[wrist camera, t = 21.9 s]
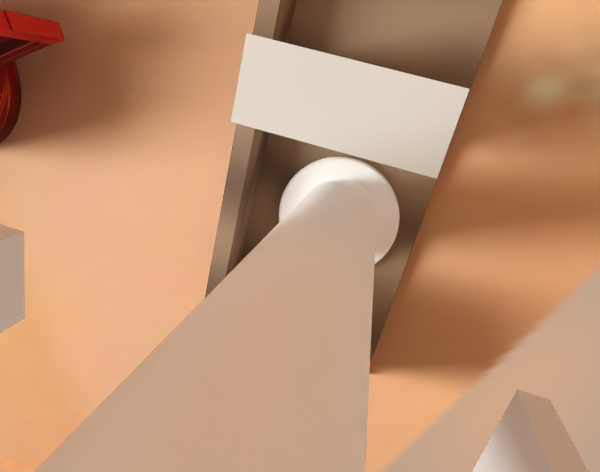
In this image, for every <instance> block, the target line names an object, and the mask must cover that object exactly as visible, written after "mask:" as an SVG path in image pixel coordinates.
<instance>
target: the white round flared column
mask: <svg viewBox="0 0 600 472" xmlns="http://www.w3.org/2000/svg"><path fill="white" fill-rule="evenodd" d="M398 228H399V207H398V202H397V198H396V195H395V193H394V191H393V189H392V187H391V185H390V184H389V182H388V181H387V179H386V178H385V177H384V176H383V175H382V174H381V173H380V172H379V171H378V170H376V169H375V168H374V167H372V166H371V165H369V164H367V163H365V162H363V161H360V160H358V159H354V158H350V157H341V156H338V157H327V158H323V159H320V160H317V161H315V162H312V163H310V164H309V165H307V166H305V167H304V168H303V169H301V170H300V171H299V172H298V173H297V174H295V176H294V177H293V178H292V179H291V180H290V182H289V183H288V185H287V186H286V188H285V190H284V192H283V195H282V197H281V201H280V206H279V223H278V224H277V225H276V226H275V227H274V228H273V229H272V230H271V232H270V233H269V234H268V235H267V236H266V237H265V238H264V239H263V240H262V241H261V242H260V243H259V244H258V245H257V246H256V247H255V248H254V249H253V250H252V251H251V252H250V253H249V254H248V255H247V256H246V257H245V258H244V259H243V260H242V261H241V262H240V263H239V264H238V265H237V266H236V267H235V268H234V269H233V270H232V271H231V272H230V273H229V274H228V275H227V276H226V277H225V278H224V279H223V280H222V281H221V282H220V283H219V284H218V285H217V286H216V287H215V288H214V289H213V291H212V292H211V293H210V294H209V295H208V296H207V297H206V298H205V299H204V300H203V301H202V302H201V303H200V304H199V305H198V306H197V307H196V308H195V309H194V310H193V311H192V312H191V313H190V314H189V315H188V316H187V317H186V318H185V319H184V320H183V321H182V322H181V323H180V324H179V325H178V326H177V327H176V328H175V329H174V330H173V331H172V332H171V333H170V334H169V335H168V336H167V337H166V338H165V339H164V340H163V341H162V342H161V343H160V344H159V345H158V346H157V347H156V348H155V350H154V351H153V352H152V353H151V354H150V355H149V356H148V357H147V358H146V359H145V360H144V361H143V362H142V363H141V364H140V365H139V366H138V367H137V368H136V369H135V370H134V371H133V372H132V373H131V374H130V375H129V376H128V377H127V378H126V379H125V380H124V381H123V382H122V383H121V384H120V385H119V386H118V387H117V388H116V389H115V390H114V391H113V392H112V393H111V394H110V395H109V396H108V397H107V398H106V399H105V400H104V401H103V402H102V403H101V404H100V405H99V406H98V408H97V409H96V410H95V411H94V412H93V413H92V414H91V415H90V416H89V417H88V418H87V419H86V420H85V421H84V422H83V423H82V424H81V425H80V426H79V427H78V428H77V429H76V430H75V431H74V432H73V433H72V434H71V435H70V436H69V437H68V438H67V439H66V440H65V441H64V442H63V443H62V444H61V445H60V446H59V447H58V448H57V449H56V450H55V451H54V452H53V453H52V454H51V455H50V456H49V457H48V458H47V459H46V460H45V461H44V462H43V463H42V464H41V466H40V467H39V468H38V469H37V470H36V471H35V472H365V457H366V436H367V414H368V393H369V371H370V350H371V328H372V307H373V285H374V264H376V263H377V262H378V261H380V260H381V259H382V258H383V257H384V256H385V254H386V253H387V252H388V251H389V249H390V248H391V246H392V244H393V243H394V240H395V238H396V235H397V232H398Z"/></svg>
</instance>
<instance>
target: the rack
mask: <svg viewBox="0 0 600 472" xmlns="http://www.w3.org/2000/svg"><path fill="white" fill-rule="evenodd" d="M502 1H503V0H259V3H258V9H257V14H256V20H255V25H254V31H253V35H256V36H260V37H264V38H268V39H272V40H276V41H280V42H284V43H288V44H292V45H296V46H300V47H304V48H308V49H312V50H316V51H320V52H324V53H328V54H332V55H336V56H340V57H344V58H348V59H352V60H356V61H360V62H364V63H368V64H372V65H376V66H380V67H384V68H388V69H392V70H396V71H400V72H404V73H408V74H412V75H416V76H420V77H424V78H428V79H432V80H436V81H440V82H444V83H448V84H452V85H456V86H460V87H464V88H468V89H470V88H471V85H472V83H473V80H474V77H475V74H476V72H477V69H478V66H479V64H480V61H481V58H482V55H483V53H484V50H485V47H486V44H487V42H488V39H489V36H490V33H491V31H492V28H493V25H494V23H495V20H496V17H497V14H498V12H499V9H500V6H501V3H502ZM469 91H470V90H469ZM468 94H469V92H468ZM467 96H468V95H467ZM466 99H467V98H466ZM465 102H466V101H465ZM464 104H465V103H464ZM463 107H464V106H463ZM462 110H463V109H462ZM461 113H462V111H461ZM460 115H461V114H460ZM459 118H460V117H459ZM458 121H459V120H458ZM457 124H458V122H457ZM456 126H457V125H456ZM455 129H456V128H455ZM454 132H455V131H454ZM453 135H454V133H453ZM452 137H453V136H452ZM451 140H452V139H451ZM450 143H451V142H450ZM449 145H450V144H449ZM448 148H449V147H448ZM447 151H448V150H447ZM446 154H447V152H446ZM338 156H341V157H350V158H354V159H358V160H360V161H363V162H365V163H367V164H369V165H371V166H372V167H374V168H375V169H376V170H378V171H379V172H380V173H381V174H382V175H383V176H384V177H385V178H386V179H387V181H388V182H389V184H390V185H391V187H392V189H393V191H394V193H395V195H396V198H397V202H398V207H399V228H398V232H397V235H396V238H395V240H394V243H393V244H392V246H391V248H390V249H389V251H388V252H387V253H386V254H385V256H384V257H383V258H382V259H381V260H380V261H378V262H377V263H376V264H374V285H373V307H372V328H371V350H370V361H371V359H372V356H373V353H374V350H375V348H376V345H377V342H378V339H379V337H380V334H381V331H382V328H383V326H384V323H385V320H386V318H387V315H388V312H389V309H390V307H391V304H392V301H393V298H394V296H395V293H396V290H397V288H398V285H399V282H400V279H401V277H402V274H403V271H404V268H405V266H406V263H407V260H408V257H409V255H410V252H411V249H412V247H413V244H414V241H415V238H416V236H417V233H418V230H419V227H420V225H421V222H422V219H423V216H424V214H425V211H426V208H427V206H428V203H429V200H430V197H431V195H432V192H433V189H434V186H435V184H436V181H437V179H436V178H432V177H429V176H425V175H421V174H418V173H414V172H411V171H407V170H403V169H400V168H396V167H393V166H389V165H385V164H382V163H378V162H374V161H371V160H367V159H364V158H360V157H356V156H353V155H349V154H345V153H342V152H338V151H335V150H331V149H327V148H324V147H320V146H317V145H313V144H309V143H306V142H302V141H298V140H295V139H291V138H288V137H284V136H280V135H277V134H273V133H270V132H266V131H262V130H259V129H255V128H251V127H248V126H244V125H241V124H236V130H235V135H234V141H233V146H232V152H231V157H230V163H229V168H228V174H227V179H226V185H225V190H224V196H223V201H222V207H221V212H220V218H219V223H218V229H217V234H216V240H215V245H214V251H213V256H212V262H211V267H210V273H209V278H208V284H207V289H206V295H205V298H206V297H207V296H208V295H209V294H210V293H211V292H212V291H213V289H214V288H215V287H216V286H217V285H218V284H219V283H220V282H221V281H222V280H223V279H224V278H225V277H226V276H227V275H228V274H229V273H230V272H231V271H232V270H233V269H234V268H235V267H236V266H237V265H238V264H239V263H240V262H241V261H242V260H243V259H244V258H245V257H246V256H247V255H248V254H249V253H250V252H251V251H252V250H253V249H254V248H255V247H256V246H257V245H258V244H259V243H260V242H261V241H262V240H263V239H264V238H265V237H266V236H267V235H268V234H269V233H270V232H271V230H272V229H273V228H274V227H275V226H276V225H277V224H278V223H279V206H280V201H281V197H282V195H283V192H284V190H285V188H286V186H287V185H288V183H289V182H290V180H291V179H292V178H293V177H294V176H295V174H297V173H298V172H299V171H300V170H301V169H303V168H304V167H305V166H307V165H309V164H310V163H312V162H315V161H317V160H320V159H323V158H327V157H338ZM445 156H446V155H445ZM444 159H445V158H444ZM443 162H444V161H443ZM442 165H443V163H442ZM441 167H442V166H441ZM440 170H441V169H440ZM439 173H440V172H439ZM438 176H439V174H438ZM437 178H438V177H437Z"/></svg>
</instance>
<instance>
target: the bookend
mask: <svg viewBox="0 0 600 472" xmlns="http://www.w3.org/2000/svg"><path fill="white" fill-rule="evenodd" d="M469 90H470V89H468V88H464V87H460V86H456V85H452V84H448V83H444V82H440V81H436V80H432V79H428V78H424V77H420V76H416V75H412V74H408V73H404V72H400V71H396V70H392V69H388V68H384V67H380V66H376V65H372V64H368V63H364V62H360V61H356V60H352V59H348V58H344V57H340V56H336V55H332V54H328V53H324V52H320V51H316V50H312V49H308V48H304V47H300V46H296V45H292V44H288V43H284V42H280V41H276V40H272V39H268V38H264V37H260V36H256V35H252V34H248V33H246V39H245V45H244V50H243V56H242V62H241V67H240V73H239V79H238V84H237V90H236V96H235V101H234V107H233V113H232V118H231V122H233V123H237V124H241V125H244V126H248V127H251V128H255V129H259V130H262V131H266V132H270V133H273V134H277V135H280V136H284V137H288V138H291V139H295V140H298V141H302V142H306V143H309V144H313V145H317V146H320V147H324V148H327V149H331V150H335V151H338V152H342V153H345V154H349V155H353V156H356V157H360V158H364V159H367V160H371V161H374V162H378V163H382V164H385V165H389V166H393V167H396V168H400V169H403V170H407V171H411V172H414V173H418V174H421V175H425V176H429V177H432V178H436V179H437V177H438V174H439V172H440V169H441V166H442V163H443V161H444V158H445V155H446V152H447V150H448V147H449V144H450V142H451V139H452V136H453V133H454V131H455V128H456V125H457V122H458V120H459V117H460V114H461V111H462V109H463V106H464V103H465V101H466V98H467V95H468V92H469Z"/></svg>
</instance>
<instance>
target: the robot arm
mask: <svg viewBox="0 0 600 472" xmlns="http://www.w3.org/2000/svg"><path fill="white" fill-rule="evenodd" d="M23 318H25V310H24V232H22V231H19V230H16V229H13V228H10V227H7V226H4V225H1V224H0V333H1V332H3V331H4V330H6V329H7V328H9V327H10V326H12V325H14V324H15V323H17V322H18V321H20V320H22V319H23ZM473 472H588V470H587V468H586V466H585V464H584V463H583V461H582V459H581V457H580V455H579V453H578V451H577V449H576V447H575V445H574V444H573V442H572V440H571V438H570V436H569V434H568V432H567V430H566V429H565V427H564V425H563V423H562V421H561V419H560V417H559V415H558V414H557V412H556V410H555V408H554V406H553V404H552V402H551V400H549V399H545V398H542V397H539V396H536V395H533V394H530V393H527V392H524V391H520V390H517V391H516V393H515V395H514V397H513V398H512V400H511V402H510V404H509V406H508V408H507V409H506V411H505V413H504V415H503V417H502V419H501V420H500V422H499V424H498V426H497V428H496V430H495V431H494V433H493V435H492V437H491V439H490V441H489V442H488V444H487V446H486V448H485V450H484V452H483V453H482V455H481V457H480V459H479V461H478V462H477V464H476V466H475V468H474V470H473Z"/></svg>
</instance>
